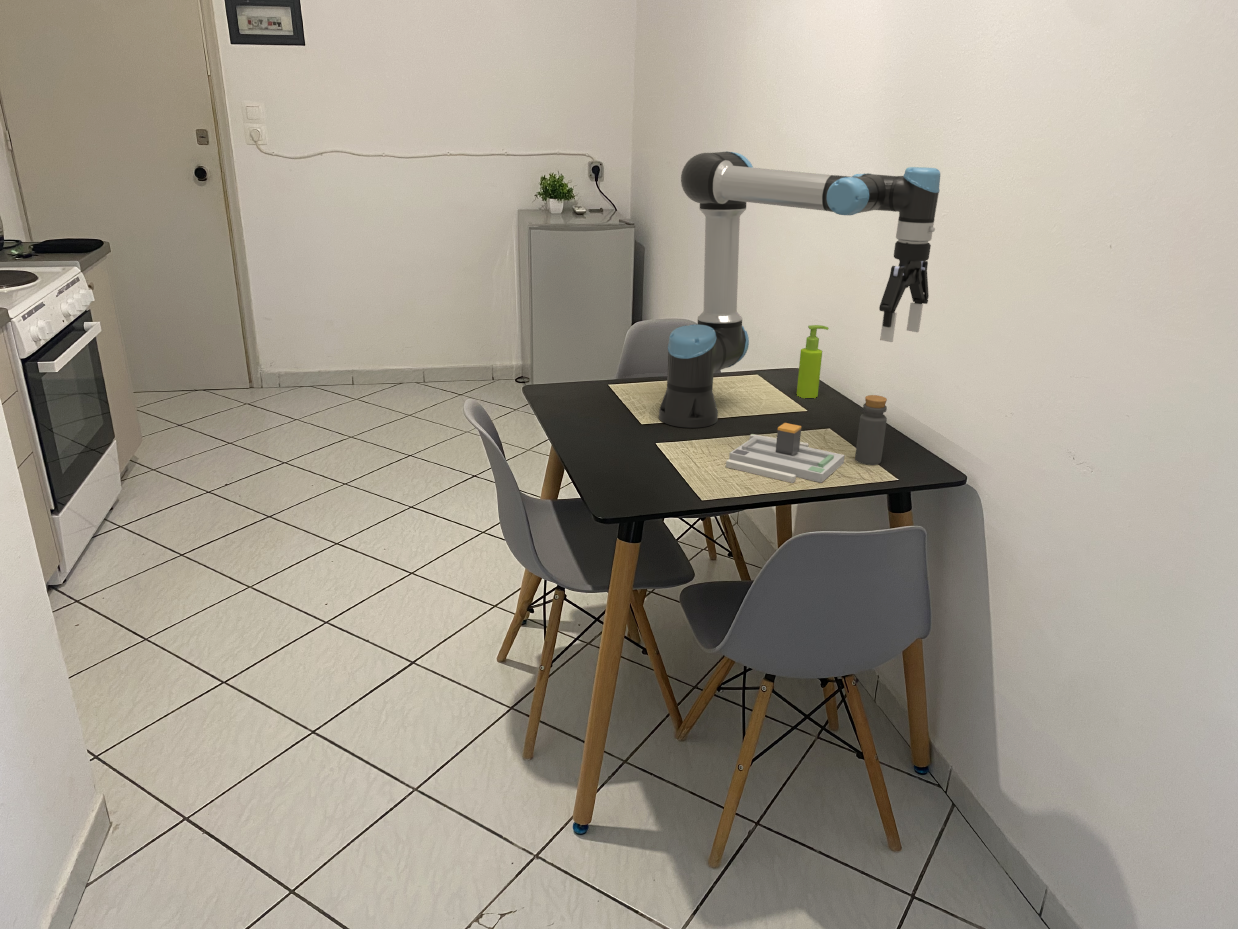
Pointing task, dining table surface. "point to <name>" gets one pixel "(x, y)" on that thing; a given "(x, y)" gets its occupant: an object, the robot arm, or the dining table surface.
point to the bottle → (871, 431)
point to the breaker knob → (788, 439)
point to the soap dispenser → (810, 365)
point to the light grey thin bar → (776, 439)
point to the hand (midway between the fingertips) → (899, 336)
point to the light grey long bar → (761, 471)
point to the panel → (788, 459)
